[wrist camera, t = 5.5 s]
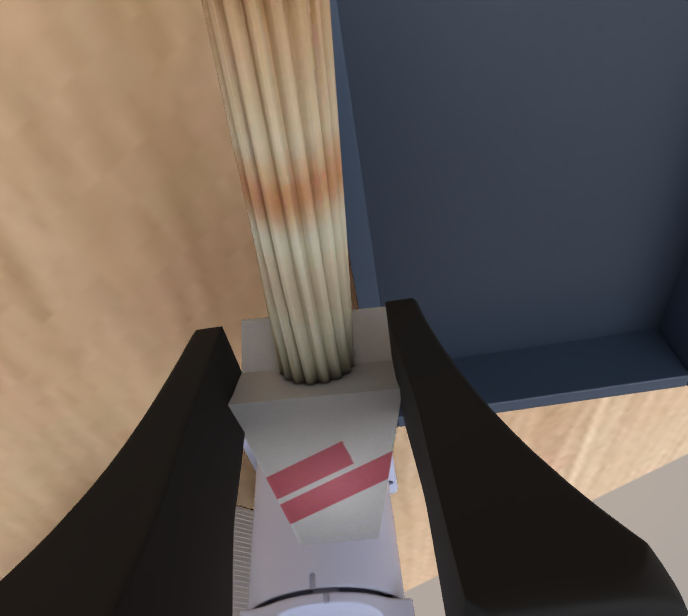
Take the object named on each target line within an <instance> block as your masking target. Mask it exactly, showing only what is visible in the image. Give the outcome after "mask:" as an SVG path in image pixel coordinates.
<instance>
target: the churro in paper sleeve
mask: <svg viewBox="0 0 688 616" xmlns="http://www.w3.org/2000/svg"><path fill="white" fill-rule="evenodd" d="M202 5H203V9H204V14H205V19H206V23H207V28H208V33H209V37H210V42H211V47H212V51H213V56H214V61H215V65H216V70H217V75H218V79H219V84H220V88H221V93H222V98H223V102H224V107H225V112H226V116H227V121H228V126H229V130H230V135H231V139H232V144H233V148H234V153H235V157H236V162H237V166H238V171H239V176H240V180H241V185H242V189H243V194H244V198H245V203H246V207H247V212H248V216H249V221H250V225H251V230H252V235H253V240H254V245H255V250H256V255H257V260H258V265H259V270H260V275H261V280H262V285H263V290H264V295H265V300H266V305H267V310H268V315H269V317H268V318H257V319H247V320H241V334H242V374H241V376H240V379H239V381H238V383H237V386H236V388H235V391H234V394H233V396H232V398H231V400H230V401H229V403H228V406H229V408H230V409H231V411H232V413H233V414H234V416H235V417H236V419H237V421H238V422H239V424H240V426H241V427H242V429H243V431H244V432H245V439H246V441H247V443H248V445H249V446H250V448H251V450H252V452H253V454H254V456H255V458H256V460H257V462H258V464H259V466H260V468H261V469H262V471H263V473H264V475H265V477H266V479H267V481H268V483H269V485H270V487H271V489H272V491H273V493H274V494H275V496H276V498H277V500H278V502H279V504H280V506H281V508H282V510H283V512H284V514H285V516H286V517H287V519H288V521H289V523H290V525H291V527H292V529H293V531H294V533H295V535H296V537H297V539H298V541H299V542H300V544H301V546H303V545H314V544H324V543H334V542H345V541H355V540H365V539H376V538H379V534H380V528H381V521H382V515H383V509H384V503H385V496H386V490H387V484H388V477H389V471H390V465H391V459H392V452H393V446H394V440H395V434H396V427H397V421H398V415H399V409H400V402H401V396H400V388H399V385H398V383H397V380H396V376H395V371H394V366H393V361H392V355H391V347H390V338H389V330H388V322H387V314H386V307H375V308H365V309H354V310H352V305H351V290H350V275H349V260H348V246H347V231H346V216H345V203H344V189H343V176H342V162H341V149H340V135H339V122H338V108H337V95H336V81H335V67H334V54H333V40H332V27H331V13H330V0H202Z"/></svg>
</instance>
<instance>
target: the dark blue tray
mask: <svg viewBox="0 0 688 616" xmlns="http://www.w3.org/2000/svg"><path fill="white" fill-rule="evenodd" d="M330 13H331V27H332V40H333V54H334V67H335V81H336V95H337V108H338V122H339V135H340V149H341V162H342V176H343V189H344V203H345V216H346V231H347V246H348V253H349V258H350V264H351V269H352V275H353V280H354V285H355V291H356V296H357V302H358V307H359V309H365V308H375V307H386V306H385V302H387V301H394V300H401V299H407V298H413V299H415V300H416V301H417V302H418V305H419V307H420V309H421V311H422V313H423V315H424V317H425V319H426V321H427V322H428V324H429V326H430V327H431V329H432V331H433V332H434V334H435V336H436V337H437V339H438V340H439V342H440V343H441V345H442V346H443V348H444V349H445V351H446V352H447V354H448V355H449V356H450V358H451V359H452V360H453V362H454V363H455V365H456V366H457V367H458V369H459V370H460V371H461V373H462V374H463V375H464V377H465V378H466V379H467V380H468V382H469V383H470V384H471V385H472V387H473V388H474V389H475V390H476V391H477V393H478V394H479V395H480V396H481V397H482V399H483V400H484V401H485V402H486V403H487V404H488V406H489V407H490V408H491V409H492V410H493V411H494V412H495V413H499V412H506V411H513V410H520V409H527V408H534V407H541V406H548V405H555V404H562V403H569V402H576V401H583V400H590V399H597V398H604V397H611V396H618V395H625V394H632V393H639V392H646V391H653V390H660V389H667V388H674V387H681V386H685V385H687V386H688V0H330ZM657 328H658V329H657ZM398 426H399V427H401V426H405V422H404V418H403V414H402V411H401V407H400V409H399V415H398V421H397V427H398ZM397 427H396V428H397Z"/></svg>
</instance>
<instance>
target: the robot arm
mask: <svg viewBox="0 0 688 616" xmlns="http://www.w3.org/2000/svg"><path fill="white" fill-rule="evenodd" d="M385 306H386V314H387V322H388V330H389V338H390V347H391V355H392V361H393V366H394V371H395V376H396V380H397V383H398V385H399V388H400V396H401V402H400V407H401V411H402V414H403V418H404V422H405V426H406V429H407V433H408V437H409V440H410V444H411V448H412V451H413V455H414V459H415V462H416V466H417V470H418V473H419V477H420V481H421V484H422V488H423V493H424V497H425V501H426V506H427V512H428V517H429V523H430V528H431V534H432V540H433V545H434V551H435V557H436V562H437V568H438V574H439V579H440V585H441V591H442V597H443V602H444V609H445V614H446V616H687V615H688V610H687V608H686V606H685V603H684V601H683V599H682V596H681V594H680V592H679V590H678V589H677V587H676V585H675V583H674V582H673V580H672V579H671V577H670V576H669V574H668V572H667V571H666V569H665V568H664V566H663V565H662V563H661V562H660V560H659V559H658V557H657V556H656V555H655V553H654V552H653V550H652V549H651V548H650V546H649V545H648V544H647V543H646V542H645V541H644V540H642V539H641V538H640V537H638V536H637V535H635V534H634V533H633V532H631V531H630V530H629V529H627V528H626V527H624V526H623V525H622V524H620V523H619V522H618V521H616V520H615V519H614V518H612V517H611V516H610V515H608V514H607V513H606V512H605V511H603V510H602V509H600V508H599V507H598V506H597V505H595V504H594V503H593V502H592V501H590V500H589V499H588V498H587V497H585V496H584V495H583V494H582V493H581V492H579V491H578V490H577V489H576V488H574V487H573V486H572V485H571V484H569V483H568V482H567V481H566V480H565V479H564V478H563V477H561V476H560V475H559V474H558V473H557V472H556V471H555V470H554V469H552V468H551V467H550V466H549V465H548V464H547V463H546V462H545V461H543V460H542V459H541V458H540V457H539V456H538V455H537V454H536V453H534V452H533V451H532V450H531V449H530V448H529V447H528V446H527V445H526V444H525V443H524V442H523V441H522V440H521V439H520V438H519V437H518V436H517V435H516V434H515V433H514V432H513V431H512V430H511V429H510V428H509V427H508V426H507V425H506V424H505V423H504V422H503V421H502V420H501V419H500V418H499V417H498V416H497V414H496V413H495V412H494V411H493V410H492V409H491V408H490V407H489V406H488V404H487V403H486V402H485V401H484V400H483V399H482V397H481V396H480V395H479V394H478V393H477V391H476V390H475V389H474V388H473V387H472V385H471V384H470V383H469V382H468V380H467V379H466V378H465V377H464V375H463V374H462V373H461V371H460V370H459V369H458V367H457V366H456V365H455V363H454V362H453V360H452V359H451V358H450V356H449V355H448V354H447V352H446V351H445V349H444V348H443V346H442V345H441V343H440V342H439V340H438V339H437V337H436V336H435V334H434V332H433V331H432V329H431V327H430V326H429V324H428V322H427V321H426V319H425V317H424V315H423V313H422V311H421V309H420V307H419V305H418V302H417V301H416V300H415V299H413V298H407V299H401V300H394V301H387V302H385ZM241 374H242V371H241V369H240V367H239V364H238V362H237V360H236V358H235V355H234V353H233V351H232V348H231V346H230V344H229V341H228V339H227V337H226V334H225V332H224V330H223V327H222V326H221V327H214V328H207V329H201V330H196V331H195V333H194V334H193V335H192V337H191V339H190V341H189V342H188V344H187V346H186V348H185V349H184V351H183V353H182V355H181V357H180V358H179V360H178V362H177V364H176V365H175V367H174V369H173V370H172V372H171V374H170V376H169V377H168V379H167V381H166V382H165V384H164V385H163V387H162V389H161V390H160V392H159V394H158V395H157V397H156V398H155V400H154V402H153V403H152V405H151V406H150V408H149V410H148V411H147V413H146V414H145V416H144V417H143V419H142V420H141V421H140V423H139V424H138V426H137V427H136V429H135V430H134V432H133V433H132V435H131V436H130V437H129V439H128V440H127V442H126V443H125V445H124V446H123V447H122V449H121V450H120V451H119V453H118V454H117V455H116V457H115V458H114V459H113V461H112V462H111V463H110V465H109V466H108V467H107V469H106V470H105V471H104V472H103V473H102V475H101V476H100V477H99V478H98V480H97V481H96V482H95V483H94V485H93V486H92V487H91V488H90V489H89V490H88V492H87V493H86V494H85V495H84V496H83V497H82V498H81V500H80V501H79V502H78V503H77V504H76V505H75V506H74V508H73V509H72V510H71V511H70V512H69V513H68V514H67V515H66V516H65V517H64V519H63V520H62V521H61V522H60V523H59V524H58V525H57V526H56V527H55V528H54V529H53V530H52V532H51V533H50V534H49V535H48V536H47V537H46V538H45V539H44V540H43V541H42V542H41V543H40V544H39V545H38V546H37V547H36V548H35V549H34V550H33V551H32V552H31V553H30V554H29V555H27V556H26V557H25V558H24V559H23V560H22V561H21V562H20V563H19V564H18V565H17V566H16V567H15V568H14V569H13V570H12V571H11V572H10V573H9V574H8V575H6V576H5V577H4V578H3V579H2V580H1V581H0V616H233V542H234V522H235V510H236V502H237V494H238V486H239V478H240V470H241V462H242V454H243V448H244V450H245V452H246V454H247V456H248V458H249V460H250V462H251V464H252V466H253V468H254V469H255V471H256V485H255V501H254V518H253V535H252V551H251V568H250V585H249V601H248V610H242V611H240V615H239V616H415V615H414V608H413V600H412V599H410V598H405V597H404V589H403V582H402V575H401V568H400V560H399V553H398V546H397V539H396V531H395V524H394V517H393V510H392V503H391V495H390V494H393V493H395V492H396V491H397V490H398V485H397V479H396V473H395V467H394V461H393V455H392V459H391V465H390V471H389V477H388V484H387V490H386V496H385V503H384V509H383V515H382V521H381V528H380V534H379V538H376V539H365V540H355V541H345V542H334V543H324V544H314V545H303V546H301V544H300V542H299V541H298V539H297V537H296V535H295V533H294V531H293V529H292V527H291V525H290V523H289V521H288V519H287V517H286V516H285V514H284V512H283V510H282V508H281V506H280V504H279V502H278V500H277V498H276V496H275V494H274V493H273V491H272V489H271V487H270V485H269V483H268V481H267V479H266V477H265V475H264V473H263V471H262V469H261V468H260V466H259V464H258V462H257V460H256V458H255V456H254V454H253V452H252V450H251V448H250V446H249V445H248V443H247V441H246V439H245V432H244V431H243V429H242V427H241V426H240V424H239V422H238V421H237V419H236V417H235V416H234V414H233V413H232V411H231V409H230V408H229V406H228V403H229V401H230V400H231V398H232V396H233V394H234V391H235V388H236V386H237V383H238V381H239V379H240V376H241Z"/></svg>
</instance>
